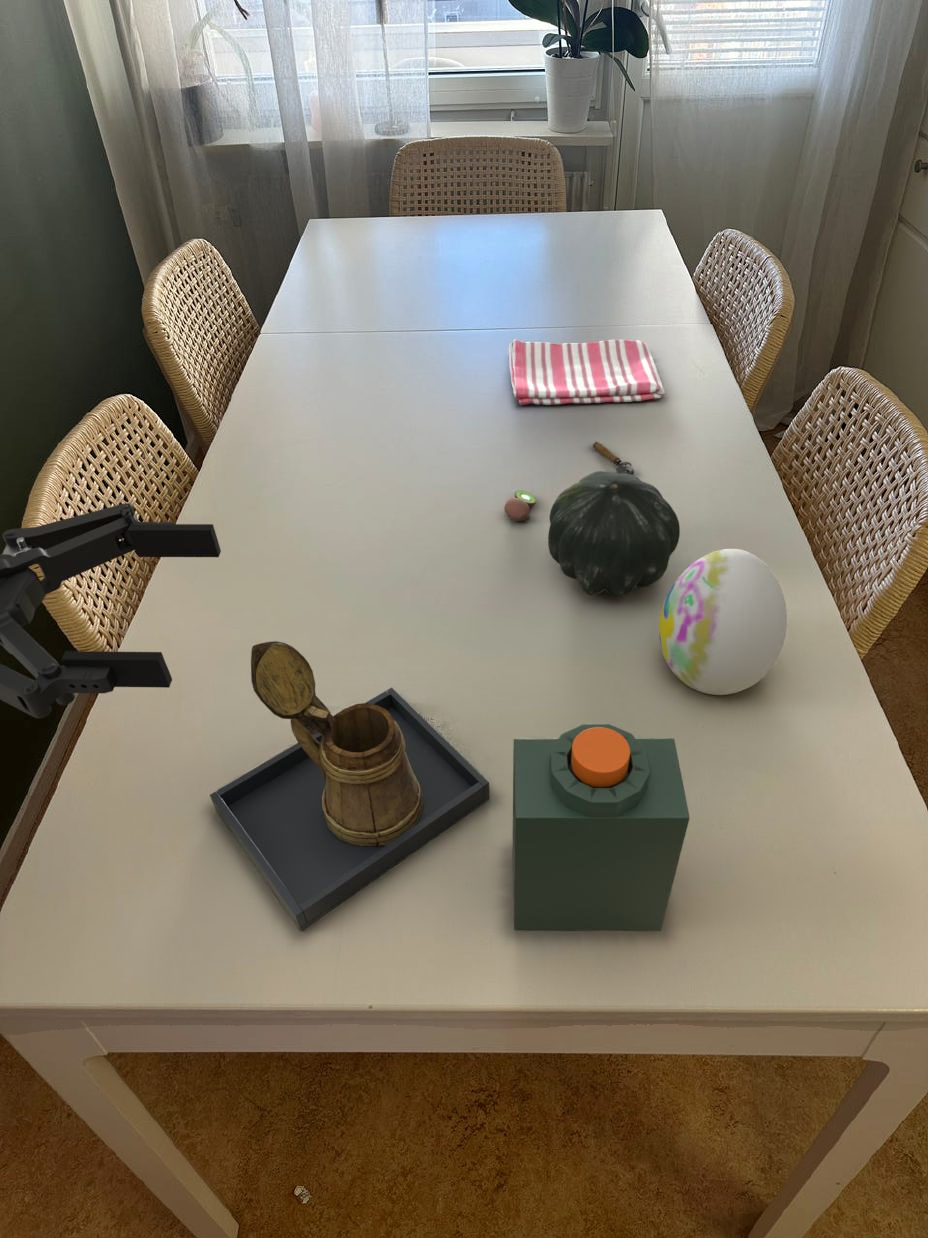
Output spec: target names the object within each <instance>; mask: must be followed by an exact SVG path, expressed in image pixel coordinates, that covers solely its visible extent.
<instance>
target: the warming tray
mask: <svg viewBox="0 0 928 1238" xmlns="http://www.w3.org/2000/svg"><path fill="white" fill-rule="evenodd" d="M365 703H369V704H374V705H377V706H380V707H382V708H384V709H386V710H387V711H388V712H389V713H390V715H391V716H392V718H393V719H394V721H395V722H396V723H397V725H398V727H399V728H400V730H401V732H402V734H403V737H404V741H405V752H406V755H407V758H408V760H409V763H410V766H411V768H412V771H413V774H414V775H415V777H416V779H417V781H418V783H419V785H420V787H421V790H422V793H423V800H424V804H423V810H422V814H421V816H420V818H419V820H418V823H417V824H416V825H415V826H414V827H413V828H411V829H410V830H408V831H407V832H405V833H404V834H402V835H401V836H399V837H398V838H397V839H395V840H394V841H392V842H391V843H389V844H388V845H385V846H358V845H354V844H351V843H349V842H346V841H342V840H340V839H339V838H338V837H337V836H336V835H335V834H334V833H333V832H332V831H331V830H330V829H329V828H328V826H327V823H326V820H325V816H324V812H323V808H322V795H323V791H324V788H325V786H326V780H325V778H324V776H323V773H322V771H321V770H320V768H319V767H318V766H317V765H316V763H315V762H314V761H313V760H312V759H311V758H310V757H309V755H308V754H307V753H306V752H305V751H304V749H303V748H302V747H301V745H300V744H299V743H298V742H297V743H295V744H293V745H291V746H289V747H288V748H286V749H284V750H283V751H281V752H279V753H278V754H276V755H274V756H273V757H271V758H269V759H267V760H265V761H264V762H263V763H261V764H259V765H257V766H256V767H254V768H252V769H251V770H249V771H247V772H245V773H244V774H243V775H240V776H239V777H237V778H235V779H234V780H232V781H231V782H229V783H227V784H226V785H224V786H222V787H220V788H219V789H217V790H216V791H213V792H212V793H210V794H209V797H210V800H211V802H212V805H213V807H214V810H215V812H216V813H217V815H218V816H219V818H220V819H221V821H222V822H223V823H224V825H225V826H226V828H227V829H228V831H229V832H230V833H231V835H232V836H233V838H234V839H235V841H236V842H237V843H238V844H239V846H240V848H241V849H242V850H243V852H244V853H245V854H246V856H247V857H248V859H249V860H250V862H251V863H252V864H253V866H254V867H255V869H256V870H257V872H258V873H259V874H260V877H262V879H263V880H264V882H265V883H266V884H267V886H268V887H269V889H270V890H271V892H272V893H273V894H274V896H275V897H276V898H277V900H278V902H279V903H280V904H281V905H282V907H283V909H284V910H285V912H286V913H287V914H288V915H289V917H290V918H291V920H292V921H293V923H294V924H295V925H296V927H297V928H298V930H299V931H300V932H303V931H304V930H305V929H307V928H308V927H310V926H311V925H313V924H314V923H315V922H317V921H319V919H321V918H323V917H324V916H325V915H327V914H328V913H329V912H331V911H332V910H334V909H335V908H337V907H338V906H340V905H341V904H343V903H344V902H345V901H347V900H348V899H350V898H351V897H352V896H354V895H356V893H358V892H360V891H361V890H362V889H363V888H365V887H367V886H368V885H369V884H371V883H372V882H374V881H375V880H377V879H379V877H381V876H383V874H385V873H387V872H388V871H389V870H390V869H392V868H394V867H395V866H397V865H398V864H400V863H401V862H402V861H404V860H405V859H407V858H408V857H409V856H411V855H412V854H413V853H415V852H417V851H418V850H419V849H421V848H423V846H425V845H426V844H428V843H429V842H431V841H432V840H433V839H435V838H437V836H438V837H439V835H440V834H442V833H444V832H445V831H446V830H448V829H450V828H451V827H452V826H453V825H455V824H456V823H458V822H459V821H461V820H462V819H463V818H465V817H466V816H468V815H470V814H471V813H472V812H474V811H475V810H476V809H478V808H479V807H481V806H482V805H483V804H485V803H486V802H488V801H490V799H491V797H490V782H489V781H488V780H487V779H486V778H485V777H484V776H483V774H481V773H480V772H479V771H478V770H477V769H476V768H475V767H474V766H473V765H472V764H471V763H470V761H468V760H467V759H466V758H465V757H464V756H463V755H462V754H460V752H459V751H458V750H457V749H456V748H455V747H454V746H453V745H452V744H450V742H448V740H447V739H445V738H444V737H443V735H441V734H440V733H439V732H438V731H437V730H436V729H435V728H434V726H433V725H431V724H430V723H429V722H428V721H427V720H426V719H425V717H423V716H422V715H421V713H419V712H418V711H417V710H416V709H415V708H414V707H413V706H412V705H411V704H410V703H409V702H408V701H407V700H406V699H405V698H404V697H403V696H402V695H400V693H399V692H398V691H396V689H394V688H393V687H390V688H388V689H386V690H384V691H382V692H381V693H379V694H377V695H376V696H375V697H373V698H371V699H369V700H367V701H366V702H365ZM312 735H313V737H314V738H315V739H316V740H317V741H318V742H320V741H321V738H322V735H323V734H321V733H317V734H316V735H314V734H312Z"/></svg>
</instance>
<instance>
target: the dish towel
mask: <svg viewBox="0 0 928 1238" xmlns="http://www.w3.org/2000/svg"><path fill="white" fill-rule="evenodd" d="M507 352H508V366H509V372H510V383H511V386H512V392H513V395H514V398H515V399H518V402H519V405H520V406H526V405H529V404H534V405H537V406H538V405H545V406H550V405H564V404H593V403H594V404H600V403H610V402H611V403H612V402H613V403H621V402H622V403H624V402H625V403H628V402H630V403H631V402H642V401H646V400H647V401H648V400H652V399H660V398H663V397H664V395H665V389H664V386H663V383H662V381H661V378H660V375H659V372H658V369H657V366H656V364H655V361H654V358H653V355H652V353H651V351H650V349H649V347H648V344H647V343H646V342H645V341H642V340H638V339H637V340H628V339H606V340H599V341H594V342H583V343H578V342H570V343H567V342H564V343H559V344H558V343H553V342H552V343H551V342H546V341H545V342H543V341H542V342H541V341H534V342H533V341H526V342H523V341H521V340H519V339H513V341H512V342H510V343H509V344H508V351H507Z"/></svg>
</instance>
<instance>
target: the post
mask: <svg viewBox="0 0 928 1238" xmlns="http://www.w3.org/2000/svg"><path fill="white" fill-rule="evenodd" d="M595 727H603V728H608V729H611V730H614V731H616V732H618V733H619V734H620V735H622V736H623V737H624V738H625V740H626V741H627V743H628V745H629V747H630V758H629V765H628V770H627V774H626V776H625V777H624V778H623V779H622V781H620V782H619V783H617V784H616V785H613V786H610V787H603V788H601V787H593V786H590V785H587V784H586V783H584V782H582V781H581V780H580V779H578V778H577V776H576V775H575V774H574V772H573V770H572V767H571V756H572V745H573V742H574V740H575V738H576V737H577V736H578V735H579V734H580V733H581V732H583V731H584V730H587V729H590V728H595ZM512 751H513V757H512V758H513V761H512V763H513V765H512V851H511V852H512V853H511V854H512V856H511V857H512V859H511V860H512V861H511V862H512V900H513V901H512V902H513V903H512V904H513V907H512V908H513V930H514V931H635V932H636V931H640V932H641V931H642V932H643V931H646V932H649V931H651V932H653V931H654V932H656V931H657V932H658V931H659V932H661V931H662V928H663V924H664V920H665V916H666V913H667V912H666V911H667V908H668V904H669V900H670V897H671V894H672V893H671V892H672V890H673V885H674V880H675V877H676V873H677V869H678V865H679V862H680V857H681V854H682V849H683V846H684V842H685V837H686V833H687V831H688V826H689V822H690V819H691V818H690V811H689V808H688V802H687V797H686V791H685V786H684V781H683V776H682V771H681V766H680V761H679V756H678V751H677V746H676V741H675V738H673V737H672V738H667V737H666V738H665V737H661V738H657V737H656V738H651V737H650V738H649V737H648V738H636V737H635V736H634V735H633V734H632V733H631V732H629V731H627V730H624V729H622V728H620V727H617V726H615V725H612V724H609V723H582V724H579V725H577V726H575V727H573V728H571V729H569V730H567V731H564V732H563V733H562V734H560V735H559V737H558V738H513V749H512Z"/></svg>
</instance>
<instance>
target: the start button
mask: <svg viewBox="0 0 928 1238" xmlns="http://www.w3.org/2000/svg"><path fill="white" fill-rule="evenodd" d="M629 758H630V747H629V745H628V743H627V741H626V740H625V738H624V737H623V736H622V735H620V734H619V733H618V732H616V731H614V730H611V729H608V728H603V727H595V728H590V729H587V730H584V731H583V732H581V733H580V734H579V735H578V736H577V737H576V738H575V740H574V742H573V745H572V756H571V767H572V770H573V772H574V774H575V775H576V776H577V778H578V779H580V780H581V781H582V782H584V783H586V784H587V785H590V786H593V787H601V788H603V787H610V786H613V785H616V784H617V783H619V782H620V781H622V779H623V778H624V777H625V776H626V774H627V770H628V765H629Z"/></svg>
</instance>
